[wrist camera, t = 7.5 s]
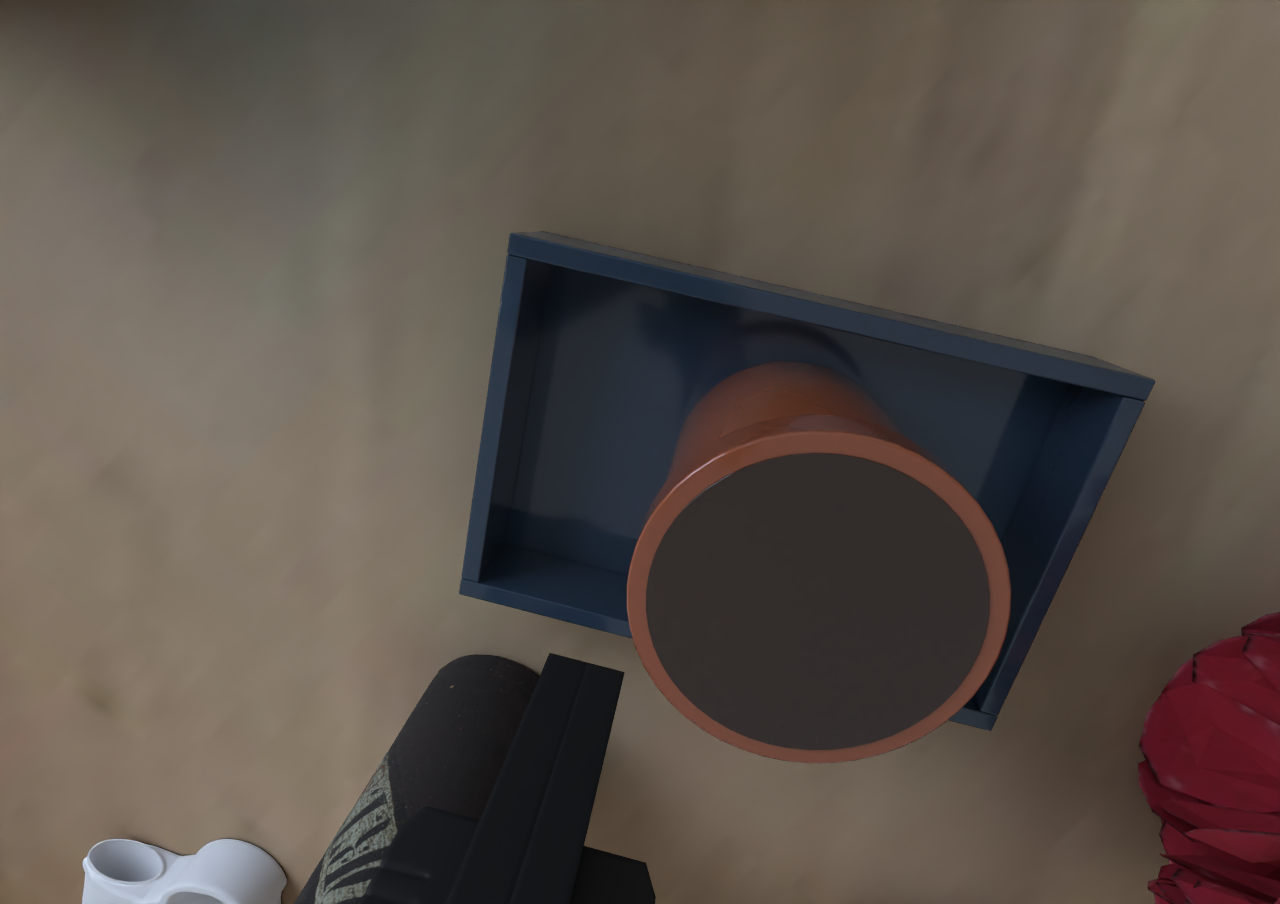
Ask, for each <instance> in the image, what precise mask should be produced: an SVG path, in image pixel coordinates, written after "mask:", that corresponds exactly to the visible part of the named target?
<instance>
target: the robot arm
mask: <svg viewBox="0 0 1280 904" xmlns="http://www.w3.org/2000/svg"><path fill="white" fill-rule="evenodd" d="M623 677H624V672H622V671H618V670H614V669H610V668H606V667H602V666H598V665H594V664H590V663H587V662H583V661H579V660H575V659H571V658H567V657H563V656H559V655H556V654H552V653H549V656H548V658H547V660H546V663H545V665H544V668H543V670H542V672H541V675H540V677H539V680H538V682H537V684H536V687H535V689H534V692H533V694H532V696H531V699H530V701H529V704H528V706H527V708H526V711H525V713H524V716H523V718H522V720H521V723H520V725H519V728H518V730H517V732H516V735H515V737H514V740H513V742H512V744H511V747H510V749H509V751H508V754H507V756H506V759H505V761H504V763H503V766H502V768H501V771H500V773H499V775H498V778H497V780H496V783H495V785H494V787H493V790H492V792H491V795H490V797H489V799H488V802H487V804H486V807H485V809H484V811H483V814H482V816H481V819H480V820H479V819H475V818H471V817H467V816H464V815H460V814H456V813H453V812H449V811H445V810H442V809H438V808H434V807H431V806H427V805H426V806H425V807H424V808H423V809H421V810H420V811H419V812H418V813H417V814H416V815H414V816H413V817H412V818H411V819H410V820H409V821H408V822H406V823H405V824H404V825H403V826H402V827H401V828H399V829H398V831H397V833H396V835H395V837H394V839H393V840H392V842H391V844H390V846H389V848H388V850H387V852H386V853H385V855H384V857H383V859H382V861H381V864H380V866H379V868H377V870H376V872H375V874H374V875H373V877H372V879H371V881H370V883H369V885H368V886H367V889H366V892H365V894H364V895H363V896H362V897H361V899H360V901H359V903H358V904H655V898H656V897H655V893H654V890H653V886H652V883H651V879H650V876H649V872H648V869H647V865H646V863H645V862H641V861H638V860H634V859H630V858H626V857H623V856H619V855H615V854H612V853H608V852H604V851H601V850H597V849H593V848H590V847H586V846H584V842H585V838H586V834H587V829H588V825H589V821H590V817H591V812H592V808H593V804H594V800H595V795H596V791H597V787H598V783H599V778H600V774H601V770H602V766H603V761H604V757H605V753H606V749H607V744H608V740H609V736H610V732H611V727H612V723H613V719H614V715H615V711H616V706H617V702H618V698H619V694H620V689H621V685H622V681H623Z"/></svg>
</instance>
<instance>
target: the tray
mask: <svg viewBox="0 0 1280 904" xmlns="http://www.w3.org/2000/svg"><path fill="white" fill-rule="evenodd" d="M507 252H508V254H509V255H507V258H506V265H505V272H504V279H503V286H502V294H501V301H500V308H499V315H498V322H497V329H496V336H495V343H494V350H493V357H492V364H491V372H490V379H489V386H488V393H487V400H486V407H485V414H484V421H483V428H482V435H481V442H480V449H479V457H478V464H477V471H476V478H475V485H474V492H473V499H472V506H471V513H470V520H469V527H468V535H467V542H466V549H465V556H464V563H463V570H462V579H461V583H460V590H459V594H462V595H466V596H469V597H473V598H477V599H481V600H485V601H489V602H493V603H497V604H500V605H504V606H508V607H512V608H516V609H520V610H524V611H527V612H531V613H535V614H539V615H543V616H547V617H551V618H555V619H558V620H562V621H566V622H570V623H574V624H578V625H582V626H586V627H589V628H593V629H597V630H601V631H605V632H609V633H613V634H617V635H620V636H624V637H628V638H632V634H631V631H630V627H629V621H628V614H627V579H628V573H629V566H630V562H631V559H632V555H633V552H634V549H635V546H636V542H637V539H638V536H639V532H640V529H641V526H642V523H643V520H644V518H645V516H646V514H647V512H648V510H649V507H650V505H651V503H652V501H653V500H654V498H655V497H656V495H657V494H658V492H659V491H660V489H661V488H662V486H663V485H664V484H665V482H666V479H667V475H668V471H669V468H670V464H671V460H672V456H673V453H674V449H675V445H676V442H677V439H678V435H679V432H680V430H681V428H682V426H683V424H684V422H685V420H686V418H687V417H688V415H689V413H690V412H691V410H692V409H693V407H694V406H695V405H696V404H697V403H698V402H699V400H700V399H701V398H702V397H703V396H704V395H705V394H706V393H707V392H708V391H710V390H711V389H712V388H713V387H714V386H716V385H717V384H718V383H720V382H721V381H723V380H724V379H726V378H728V377H730V376H731V375H733V374H735V373H737V372H739V371H742V370H745V369H747V368H750V367H753V366H757V365H761V364H766V363H771V362H781V361H794V362H805V363H812V364H817V365H820V366H824V367H827V368H830V369H833V370H835V371H837V372H839V373H842V374H844V375H846V376H847V377H849V378H850V379H852V380H854V381H855V382H857V383H858V384H859V385H861V386H862V387H863V388H864V389H866V390H867V391H868V392H869V393H870V394H871V395H872V396H873V397H874V398H875V400H876V401H877V402H878V403H879V404H880V405H881V406H882V408H883V409H884V410H885V412H886V413H887V414H888V415H889V417H890V418H891V419H892V420H893V422H894V423H895V424H896V425H897V427H898V428H899V429H900V430H901V432H902V433H903V434H904V435H905V437H907V438H908V439H910V440H912V441H913V442H915V443H917V444H918V445H920V446H921V447H923V448H925V449H926V450H927V451H929V452H930V453H931V454H932V455H933V456H935V457H936V458H937V459H938V460H939V461H941V462H942V463H943V464H944V465H945V466H946V467H947V468H948V469H949V470H950V471H951V472H952V473H953V475H954V476H955V477H956V478H957V479H958V480H959V481H960V482H961V483H962V485H963V486H964V487H965V488H966V489H967V490H968V492H969V493H970V494H971V495H972V496H973V497H974V498H975V500H976V501H977V502H978V503H979V505H980V506H981V508H982V509H983V511H984V512H985V514H986V515H987V517H988V518H989V520H990V521H991V523H992V524H993V526H994V529H995V531H996V533H997V535H998V537H999V539H1000V541H1001V544H1002V546H1003V550H1004V553H1005V557H1006V560H1007V564H1008V567H1009V575H1010V584H1011V610H1010V618H1009V623H1008V628H1007V633H1006V637H1005V640H1004V643H1003V645H1002V648H1001V651H1000V654H999V656H998V659H997V660H996V662H995V664H994V666H993V668H992V670H991V672H990V673H989V675H988V677H987V678H986V680H985V681H984V682H983V684H982V685H981V687H980V688H979V689H978V691H977V692H976V693H975V695H974V696H973V697H972V698H971V699H970V700H969V701H968V702H967V703H966V704H965V705H964V706H963V707H962V708H961V709H960V710H959V711H958V712H957V713H956V714H955V715H953V716H952V717H951V718H950V719H948V720H949V721H953V722H957V723H961V724H965V725H969V726H973V727H977V728H980V729H984V730H988V731H991V730H992V728H993V726H994V724H995V721H996V719H997V715H998V714H999V712H1000V710H1001V708H1002V706H1003V704H1004V701H1005V699H1006V697H1007V695H1008V693H1009V691H1010V689H1011V687H1012V684H1013V682H1014V680H1015V678H1016V676H1017V674H1018V672H1019V670H1020V667H1021V665H1022V663H1023V661H1024V659H1025V657H1026V655H1027V653H1028V651H1029V648H1030V646H1031V644H1032V642H1033V640H1034V638H1035V636H1036V634H1037V631H1038V629H1039V627H1040V625H1041V623H1042V621H1043V619H1044V617H1045V614H1046V612H1047V610H1048V608H1049V606H1050V604H1051V602H1052V600H1053V597H1054V595H1055V593H1056V591H1057V589H1058V587H1059V585H1060V583H1061V580H1062V578H1063V576H1064V574H1065V572H1066V570H1067V568H1068V566H1069V564H1070V561H1071V559H1072V557H1073V555H1074V553H1075V551H1076V549H1077V547H1078V544H1079V542H1080V540H1081V538H1082V536H1083V534H1084V532H1085V530H1086V527H1087V525H1088V523H1089V521H1090V519H1091V517H1092V515H1093V513H1094V510H1095V508H1096V506H1097V504H1098V502H1099V500H1100V498H1101V496H1102V493H1103V491H1104V489H1105V487H1106V485H1107V483H1108V481H1109V479H1110V477H1111V474H1112V472H1113V470H1114V468H1115V466H1116V464H1117V462H1118V460H1119V457H1120V455H1121V453H1122V451H1123V449H1124V447H1125V445H1126V443H1127V440H1128V438H1129V436H1130V434H1131V432H1132V430H1133V428H1134V426H1135V423H1136V421H1137V419H1138V417H1139V415H1140V413H1141V411H1142V409H1143V406H1144V404H1145V402H1144V401H1146V400H1147V398H1148V396H1149V394H1150V392H1151V390H1152V388H1153V386H1154V383H1155V380H1154V379H1151V378H1149V377H1146V376H1143V375H1141V374H1138V373H1135V372H1133V371H1130V370H1128V369H1125V368H1122V367H1120V366H1117V365H1114V364H1112V363H1109V362H1106V361H1104V360H1101V359H1098V358H1096V357H1093V356H1089V355H1084V354H1080V353H1076V352H1071V351H1067V350H1062V349H1058V348H1054V347H1049V346H1045V345H1041V344H1036V343H1032V342H1027V341H1023V340H1019V339H1014V338H1010V337H1005V336H1001V335H997V334H992V333H988V332H983V331H979V330H975V329H970V328H966V327H962V326H957V325H953V324H948V323H944V322H940V321H935V320H931V319H926V318H922V317H918V316H913V315H909V314H904V313H900V312H896V311H891V310H887V309H883V308H878V307H874V306H869V305H865V304H861V303H856V302H852V301H847V300H843V299H839V298H834V297H830V296H825V295H821V294H817V293H812V292H808V291H804V290H799V289H795V288H790V287H786V286H782V285H777V284H773V283H768V282H764V281H760V280H755V279H751V278H746V277H742V276H738V275H733V274H729V273H725V272H720V271H716V270H711V269H707V268H703V267H698V266H694V265H689V264H685V263H681V262H676V261H672V260H667V259H663V258H659V257H654V256H650V255H645V254H641V253H637V252H632V251H628V250H624V249H619V248H615V247H610V246H606V245H602V244H597V243H593V242H588V241H584V240H580V239H575V238H571V237H566V236H562V235H558V234H553V233H549V232H545V231H538V232H518V233H511V234H510V237H509V244H508V251H507ZM632 639H633V638H632Z"/></svg>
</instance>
